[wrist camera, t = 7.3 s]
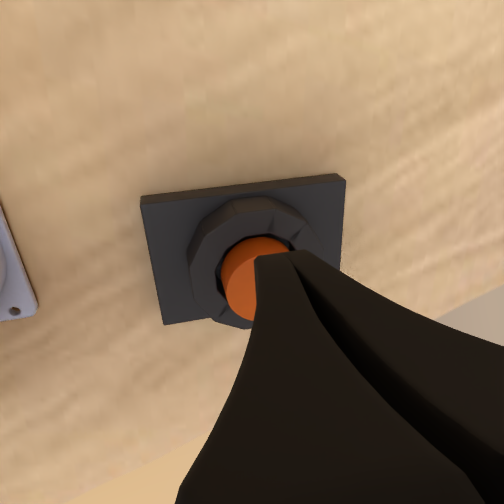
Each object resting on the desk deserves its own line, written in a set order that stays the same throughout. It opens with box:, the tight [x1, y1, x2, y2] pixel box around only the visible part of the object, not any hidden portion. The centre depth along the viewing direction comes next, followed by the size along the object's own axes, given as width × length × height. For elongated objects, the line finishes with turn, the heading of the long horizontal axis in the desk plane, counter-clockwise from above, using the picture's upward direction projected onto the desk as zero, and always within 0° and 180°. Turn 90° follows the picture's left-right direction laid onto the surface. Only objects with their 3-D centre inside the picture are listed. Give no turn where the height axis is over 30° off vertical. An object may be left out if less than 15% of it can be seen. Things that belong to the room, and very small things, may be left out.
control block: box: [140, 174, 346, 329], centre depth 20 cm, size 10×7×3 cm
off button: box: [221, 237, 289, 321], centre depth 18 cm, size 4×4×2 cm
